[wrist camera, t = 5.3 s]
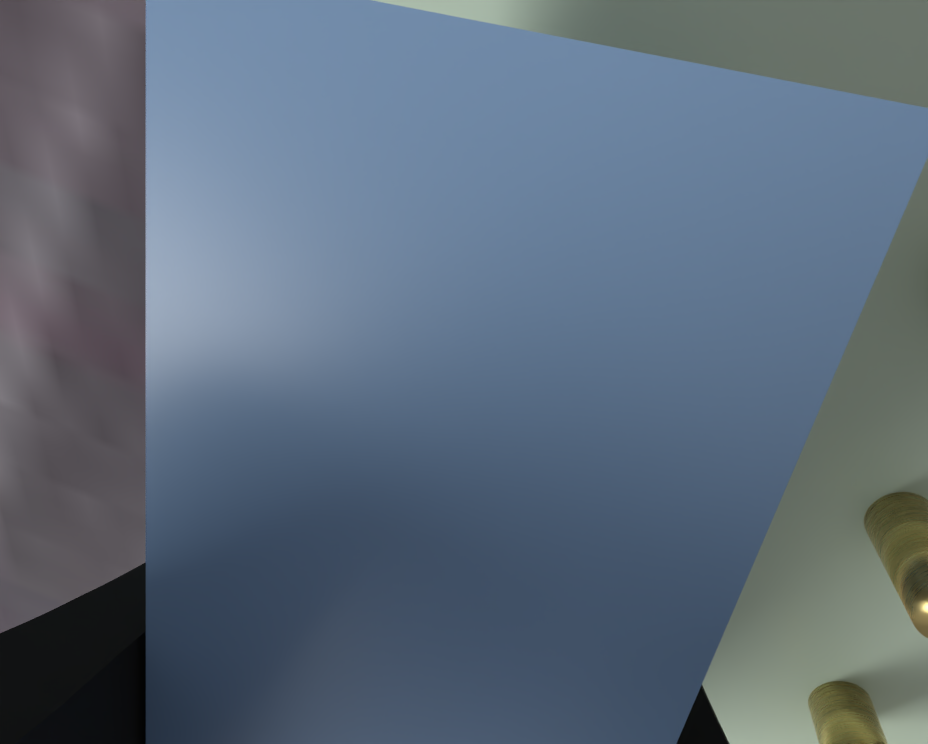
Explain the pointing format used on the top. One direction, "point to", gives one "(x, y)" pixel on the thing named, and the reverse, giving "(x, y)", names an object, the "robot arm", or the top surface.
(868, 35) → the board
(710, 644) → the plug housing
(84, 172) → the top surface
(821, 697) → the header pins
